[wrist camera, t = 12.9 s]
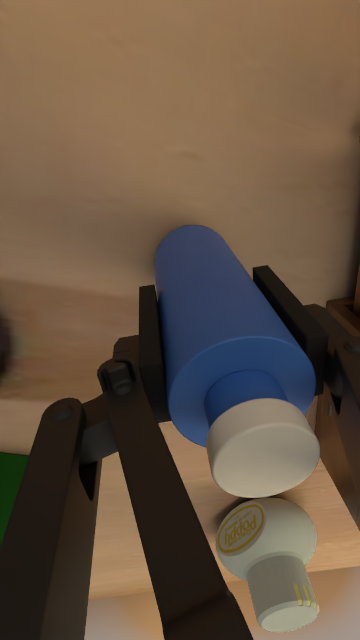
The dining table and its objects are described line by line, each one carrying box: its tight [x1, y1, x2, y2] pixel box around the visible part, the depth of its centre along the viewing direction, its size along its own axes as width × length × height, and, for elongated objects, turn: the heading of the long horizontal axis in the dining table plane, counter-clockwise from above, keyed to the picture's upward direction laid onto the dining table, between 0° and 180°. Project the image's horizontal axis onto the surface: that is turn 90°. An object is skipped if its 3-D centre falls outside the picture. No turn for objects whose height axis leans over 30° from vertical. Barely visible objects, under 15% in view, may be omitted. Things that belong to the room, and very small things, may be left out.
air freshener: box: [216, 497, 319, 632], centre depth 36 cm, size 11×8×10 cm
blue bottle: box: [154, 225, 320, 498], centre depth 16 cm, size 5×5×16 cm
